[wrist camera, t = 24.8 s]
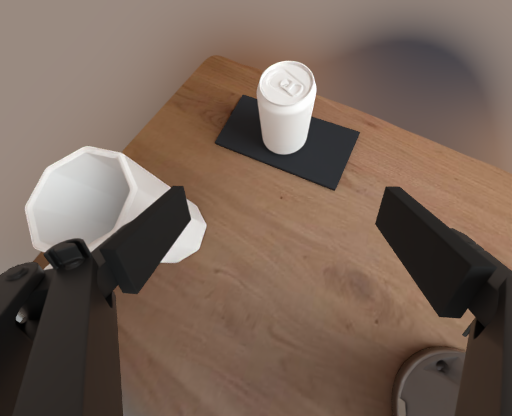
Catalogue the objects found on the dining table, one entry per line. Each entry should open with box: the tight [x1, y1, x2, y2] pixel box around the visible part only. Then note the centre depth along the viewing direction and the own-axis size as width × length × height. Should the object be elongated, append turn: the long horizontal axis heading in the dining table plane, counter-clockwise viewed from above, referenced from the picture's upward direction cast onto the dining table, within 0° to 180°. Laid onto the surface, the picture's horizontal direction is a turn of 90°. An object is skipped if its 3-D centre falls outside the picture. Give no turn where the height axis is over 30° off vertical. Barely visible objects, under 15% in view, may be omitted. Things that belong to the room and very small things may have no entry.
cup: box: [25, 146, 207, 263], centre depth 27 cm, size 11×11×18 cm
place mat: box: [215, 95, 360, 191], centre depth 38 cm, size 24×12×1 cm, turn 64°
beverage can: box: [257, 61, 316, 154], centre depth 32 cm, size 8×8×12 cm
